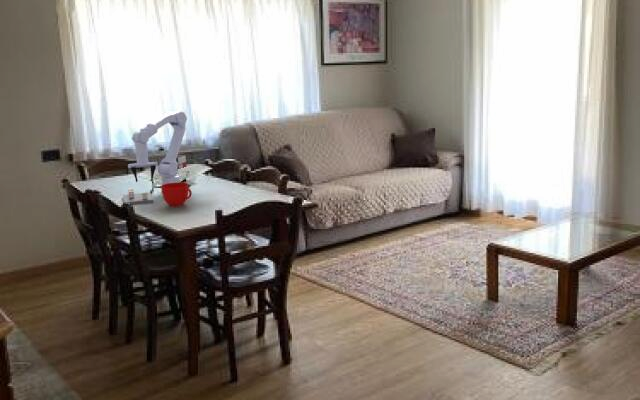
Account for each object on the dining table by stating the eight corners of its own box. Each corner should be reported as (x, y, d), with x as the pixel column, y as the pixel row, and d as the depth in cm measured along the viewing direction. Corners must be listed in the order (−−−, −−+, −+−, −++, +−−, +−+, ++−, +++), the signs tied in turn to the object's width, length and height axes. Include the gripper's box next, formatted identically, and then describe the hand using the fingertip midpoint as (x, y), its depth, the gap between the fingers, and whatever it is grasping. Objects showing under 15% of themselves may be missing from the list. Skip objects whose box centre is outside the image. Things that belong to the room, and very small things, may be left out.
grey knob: (133, 194, 314) (132, 188, 314) (133, 194, 312) (133, 189, 311) (128, 194, 314) (128, 188, 313) (128, 195, 311) (128, 189, 311)
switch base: (150, 195, 320) (150, 192, 319) (153, 202, 302) (153, 199, 302) (123, 197, 315) (122, 194, 315) (124, 205, 298) (124, 202, 297)
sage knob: (147, 197, 305) (146, 191, 305) (147, 198, 303) (147, 192, 302) (142, 197, 304) (141, 192, 304) (142, 198, 302) (142, 193, 302)
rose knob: (134, 196, 309) (133, 190, 308) (134, 197, 307) (133, 191, 306) (129, 196, 308) (128, 191, 307) (129, 197, 306) (128, 191, 305)
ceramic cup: (182, 210, 285) (180, 189, 283) (157, 206, 294) (155, 186, 292) (201, 204, 296) (199, 184, 294) (176, 201, 305) (174, 181, 302)
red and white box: (180, 183, 351) (178, 157, 348) (173, 182, 352) (171, 157, 348) (188, 179, 361) (186, 154, 358) (181, 179, 362) (179, 154, 359)
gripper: (127, 157, 303) (130, 183, 306) (157, 154, 308) (159, 180, 311) (126, 155, 309) (129, 181, 312) (155, 152, 314) (158, 178, 317)
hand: (144, 180), depth 312 cm, fingers open, 7 cm apart
